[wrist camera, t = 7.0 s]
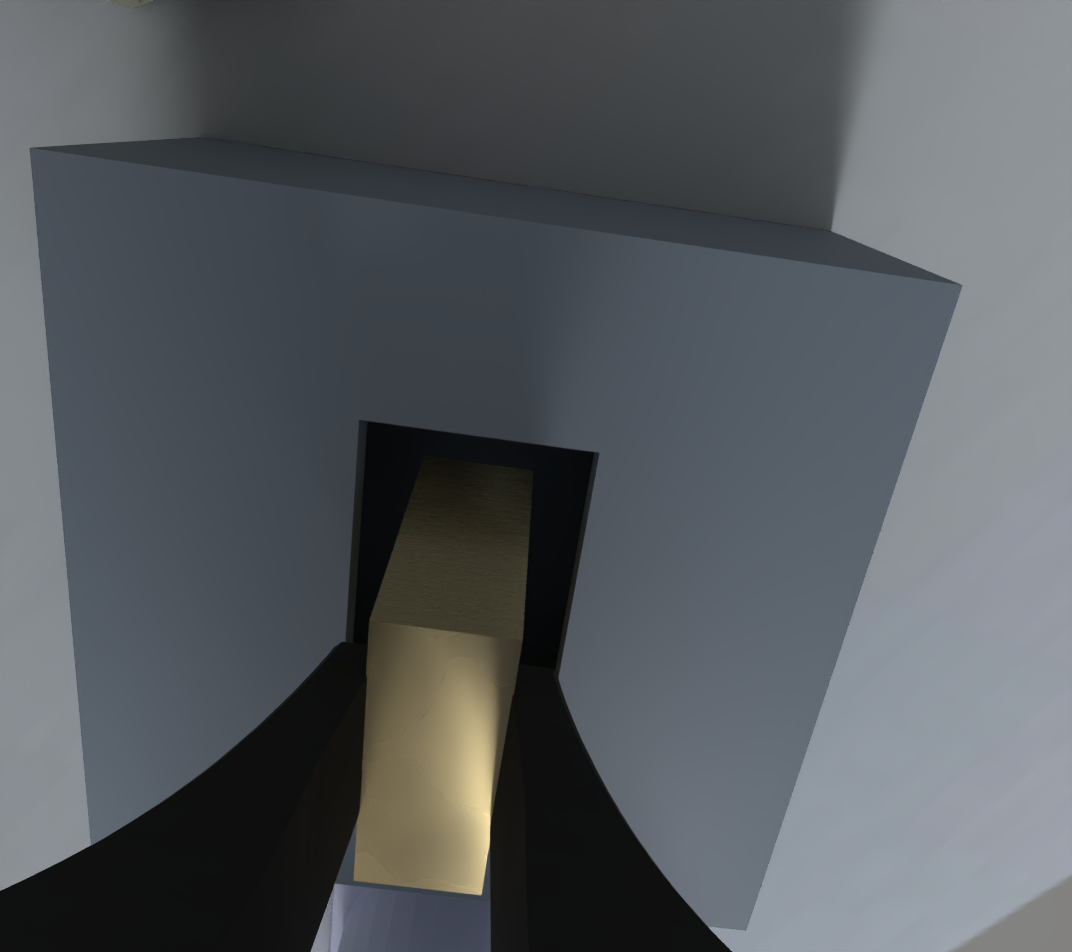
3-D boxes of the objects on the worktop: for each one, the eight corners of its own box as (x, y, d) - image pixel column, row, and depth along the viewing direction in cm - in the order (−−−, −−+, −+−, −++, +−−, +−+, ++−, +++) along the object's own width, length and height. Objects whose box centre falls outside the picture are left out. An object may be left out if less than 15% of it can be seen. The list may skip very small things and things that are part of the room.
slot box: (697, 730, 24) (746, 930, 18) (207, 669, 24) (92, 855, 18) (832, 231, 19) (962, 284, 13) (199, 137, 18) (29, 147, 12)
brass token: (500, 682, 18) (481, 895, 13) (405, 670, 18) (353, 880, 13) (533, 470, 16) (522, 640, 11) (424, 455, 15) (368, 620, 11)
